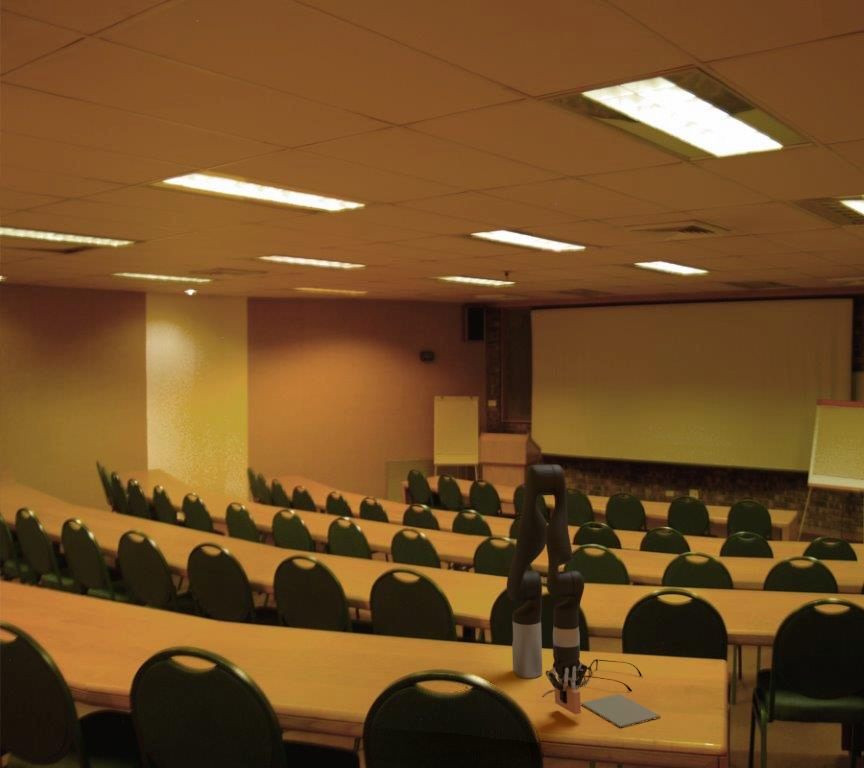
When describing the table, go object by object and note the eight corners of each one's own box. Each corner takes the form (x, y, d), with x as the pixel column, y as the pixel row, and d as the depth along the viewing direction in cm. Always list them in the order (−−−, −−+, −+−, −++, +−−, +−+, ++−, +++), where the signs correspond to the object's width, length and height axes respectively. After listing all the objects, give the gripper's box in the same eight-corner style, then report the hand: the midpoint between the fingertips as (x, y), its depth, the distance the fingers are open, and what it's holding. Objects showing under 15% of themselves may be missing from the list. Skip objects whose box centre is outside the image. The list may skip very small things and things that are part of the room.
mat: (581, 704, 237) (581, 702, 237) (619, 695, 243) (619, 693, 243) (620, 728, 221) (620, 726, 221) (660, 717, 227) (660, 715, 227)
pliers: (540, 697, 242) (560, 674, 260) (540, 700, 242) (560, 677, 260) (571, 702, 238) (589, 679, 256) (571, 705, 238) (589, 681, 256)
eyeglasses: (596, 668, 266) (595, 656, 266) (644, 676, 259) (644, 663, 259) (580, 686, 252) (580, 673, 252) (631, 694, 244) (631, 681, 244)
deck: (555, 703, 233) (554, 682, 233) (560, 701, 234) (559, 681, 234) (575, 714, 224) (574, 692, 224) (580, 713, 225) (579, 691, 225)
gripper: (578, 633, 235) (579, 692, 236) (538, 641, 229) (539, 701, 230) (594, 641, 228) (594, 702, 229) (553, 649, 223) (554, 711, 223)
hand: (567, 701), depth 229 cm, fingers closed on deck, 1 cm apart
